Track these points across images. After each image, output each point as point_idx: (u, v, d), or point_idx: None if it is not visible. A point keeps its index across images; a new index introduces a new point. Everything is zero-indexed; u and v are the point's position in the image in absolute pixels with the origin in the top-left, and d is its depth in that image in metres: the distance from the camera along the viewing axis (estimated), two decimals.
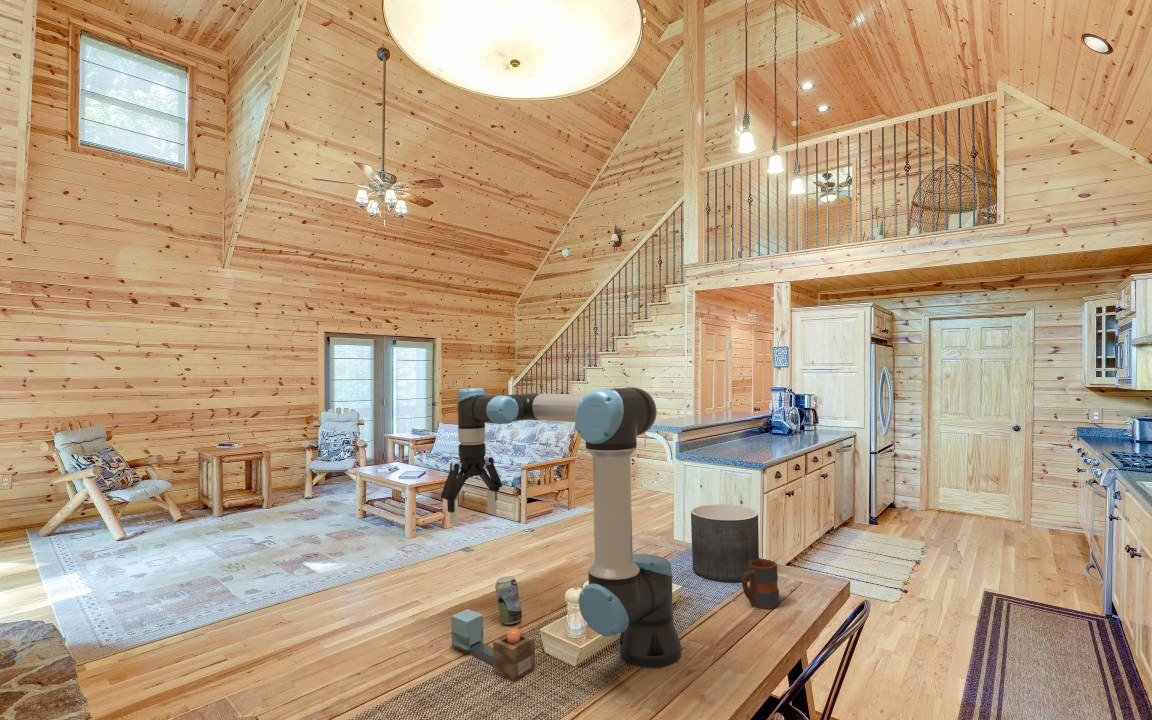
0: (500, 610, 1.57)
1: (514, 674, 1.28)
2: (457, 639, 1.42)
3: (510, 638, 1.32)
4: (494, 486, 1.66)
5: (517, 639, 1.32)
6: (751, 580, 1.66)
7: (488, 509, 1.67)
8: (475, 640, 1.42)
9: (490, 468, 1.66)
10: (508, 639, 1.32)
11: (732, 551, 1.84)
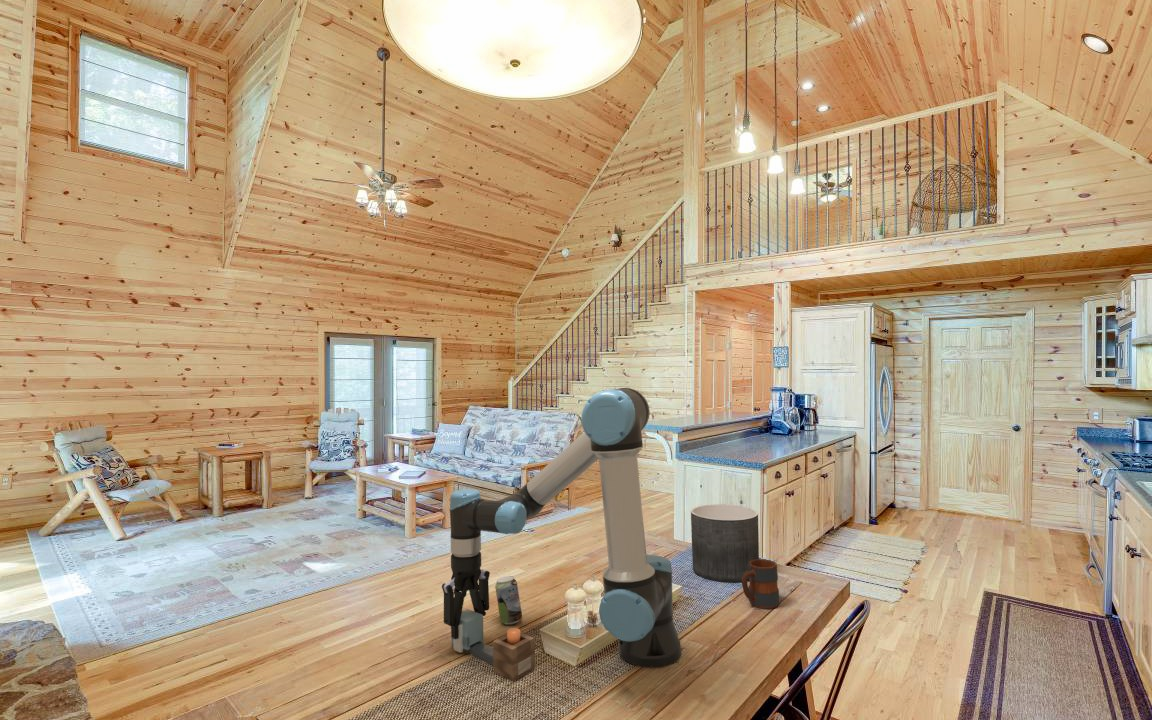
0: (500, 610, 1.57)
1: (514, 674, 1.28)
2: None
3: (510, 638, 1.32)
4: (481, 609, 1.46)
5: (517, 639, 1.32)
6: (751, 580, 1.66)
7: None
8: (475, 640, 1.42)
9: (483, 583, 1.47)
10: (508, 639, 1.32)
11: (732, 551, 1.84)
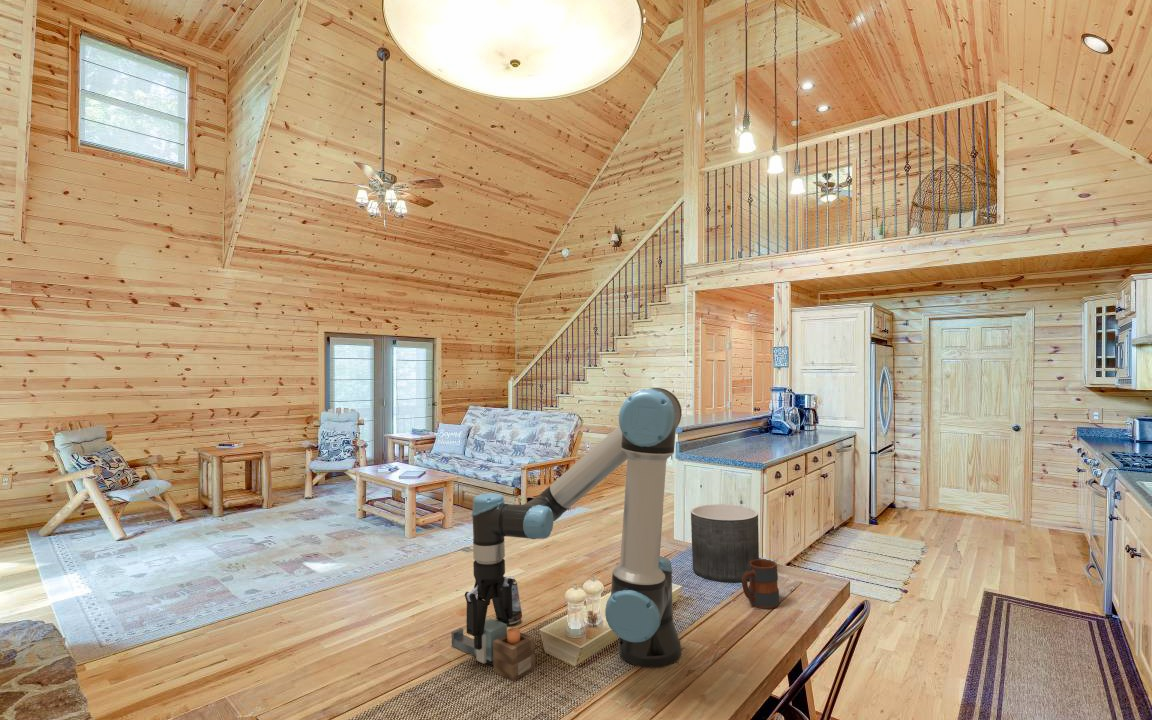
0: None
1: (514, 674, 1.28)
2: None
3: (510, 638, 1.32)
4: (505, 618, 1.40)
5: (517, 639, 1.32)
6: (751, 580, 1.66)
7: None
8: None
9: (506, 591, 1.42)
10: (508, 639, 1.32)
11: (732, 551, 1.84)
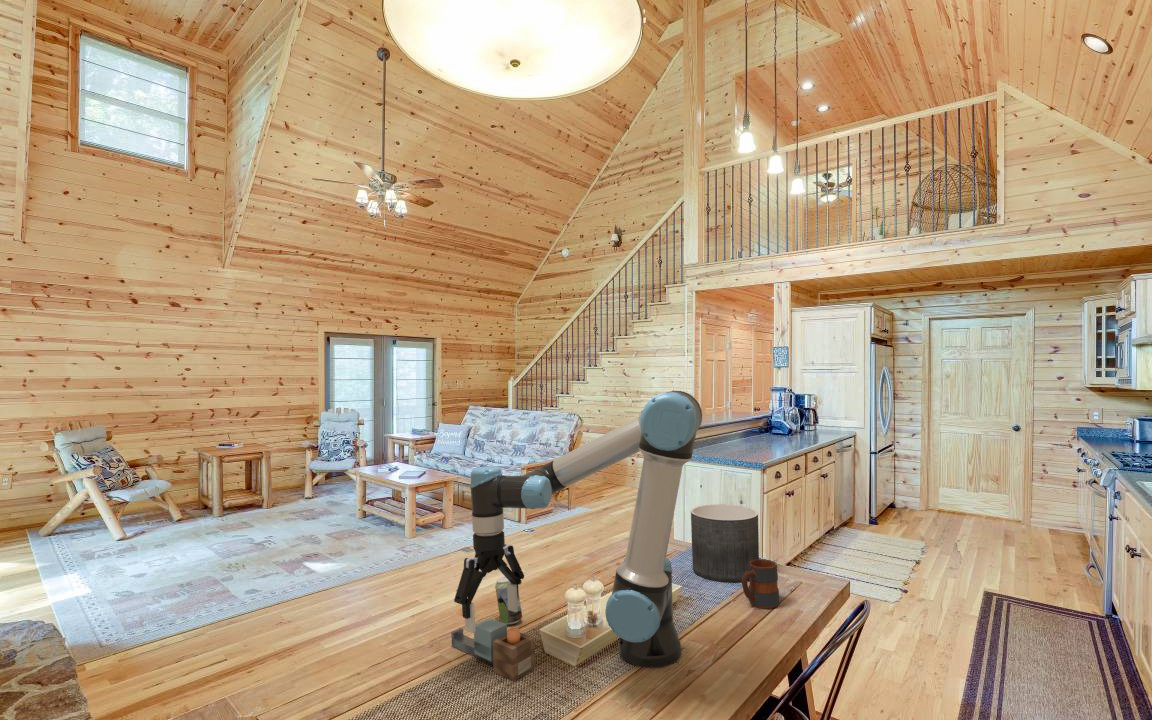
0: (500, 610, 1.57)
1: (514, 674, 1.28)
2: (480, 649, 1.36)
3: (510, 638, 1.32)
4: (516, 578, 1.43)
5: (517, 639, 1.32)
6: (751, 580, 1.66)
7: (509, 605, 1.43)
8: None
9: (510, 558, 1.43)
10: (508, 639, 1.32)
11: (732, 551, 1.84)
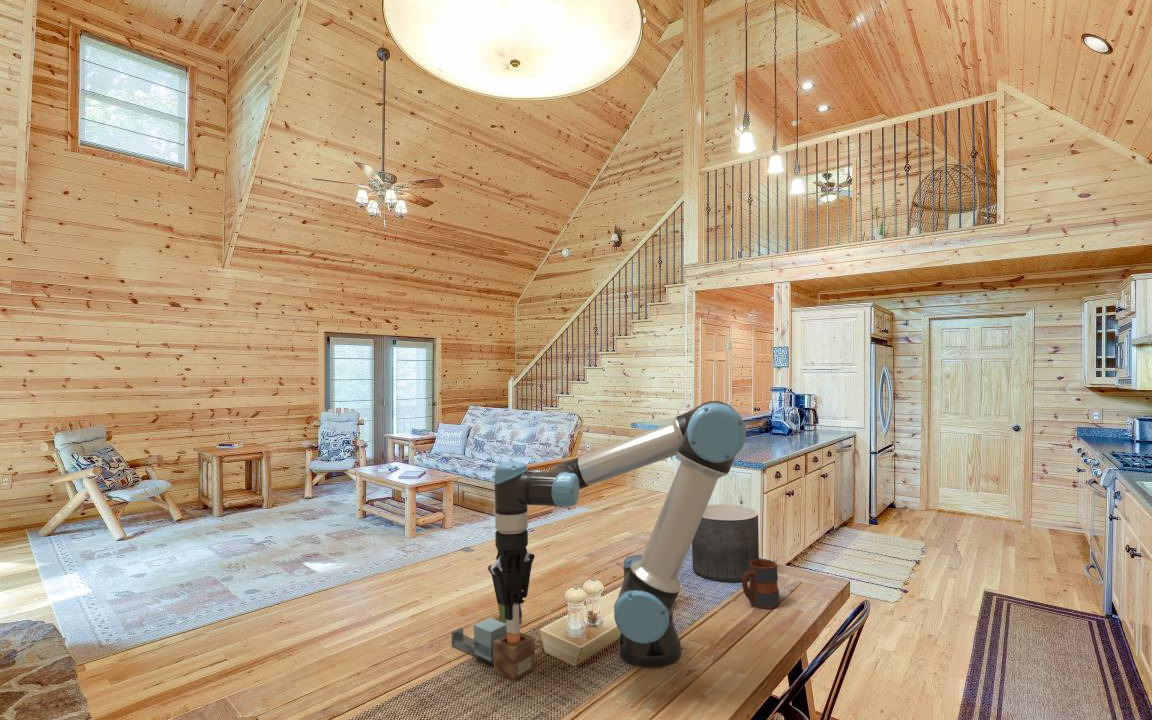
0: (500, 610, 1.57)
1: (514, 674, 1.28)
2: (480, 649, 1.36)
3: (510, 640, 1.32)
4: (520, 595, 1.33)
5: (518, 641, 1.32)
6: (751, 580, 1.66)
7: None
8: None
9: (526, 566, 1.36)
10: (508, 641, 1.32)
11: (732, 551, 1.84)
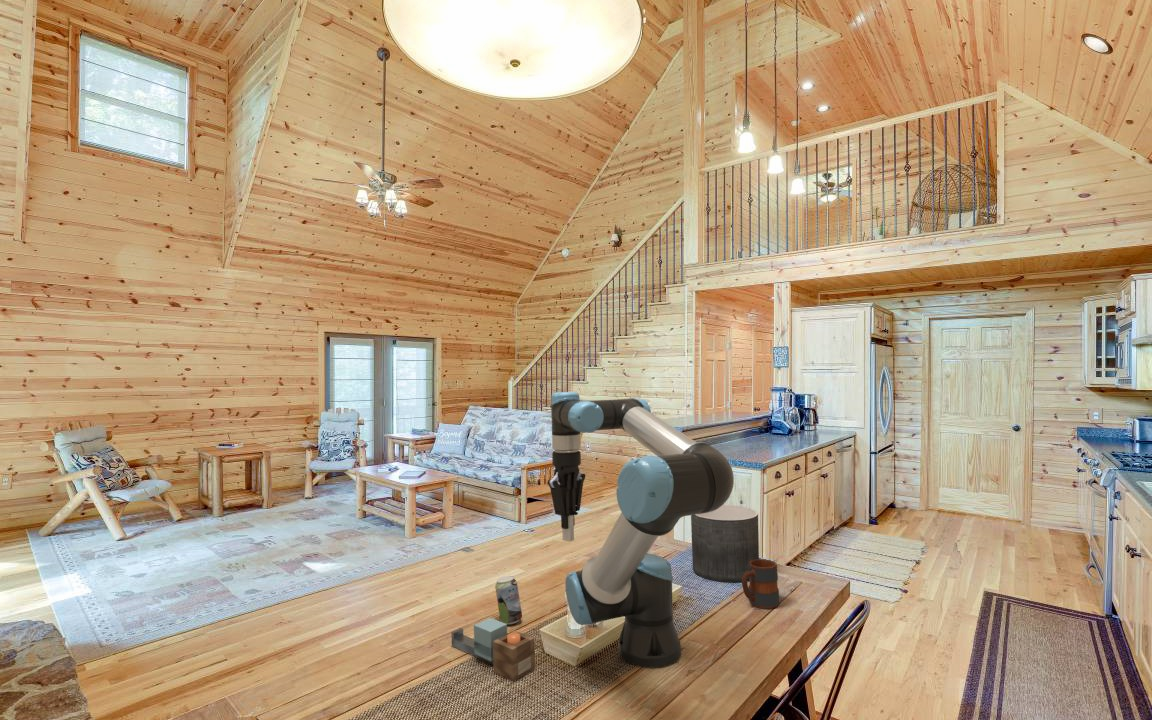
0: (500, 610, 1.57)
1: (514, 674, 1.28)
2: (480, 649, 1.36)
3: (510, 643, 1.31)
4: (574, 508, 1.52)
5: None
6: (751, 580, 1.66)
7: None
8: None
9: (578, 484, 1.54)
10: None
11: (732, 551, 1.84)
